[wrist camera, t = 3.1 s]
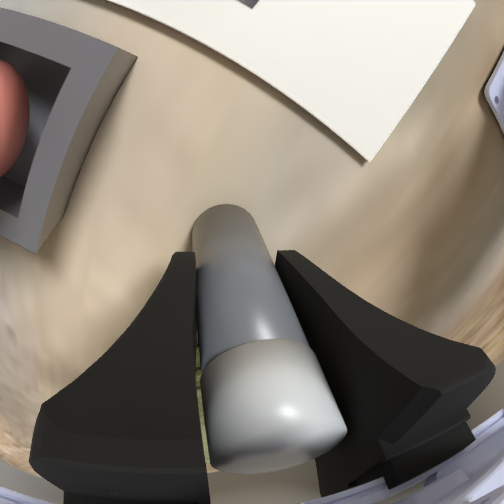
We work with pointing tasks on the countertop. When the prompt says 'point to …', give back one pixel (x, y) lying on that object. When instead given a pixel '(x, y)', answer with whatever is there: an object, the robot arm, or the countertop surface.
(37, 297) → the countertop surface
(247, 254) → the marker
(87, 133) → the button housing
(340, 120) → the paper sheet
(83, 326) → the countertop surface
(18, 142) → the button
